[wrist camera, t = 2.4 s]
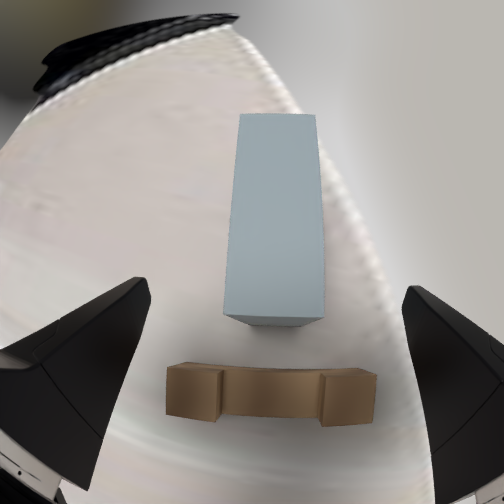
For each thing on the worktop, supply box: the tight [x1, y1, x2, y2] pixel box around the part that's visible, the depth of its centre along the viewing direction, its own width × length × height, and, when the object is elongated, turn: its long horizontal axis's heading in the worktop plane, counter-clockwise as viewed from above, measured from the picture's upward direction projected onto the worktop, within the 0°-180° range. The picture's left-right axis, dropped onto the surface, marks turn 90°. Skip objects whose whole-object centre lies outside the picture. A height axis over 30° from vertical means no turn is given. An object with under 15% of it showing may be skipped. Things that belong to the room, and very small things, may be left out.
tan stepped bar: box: [166, 362, 377, 427], centre depth 16 cm, size 12×3×4 cm, turn 87°
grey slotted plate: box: [223, 114, 324, 326], centre depth 16 cm, size 9×4×10 cm, turn 177°
